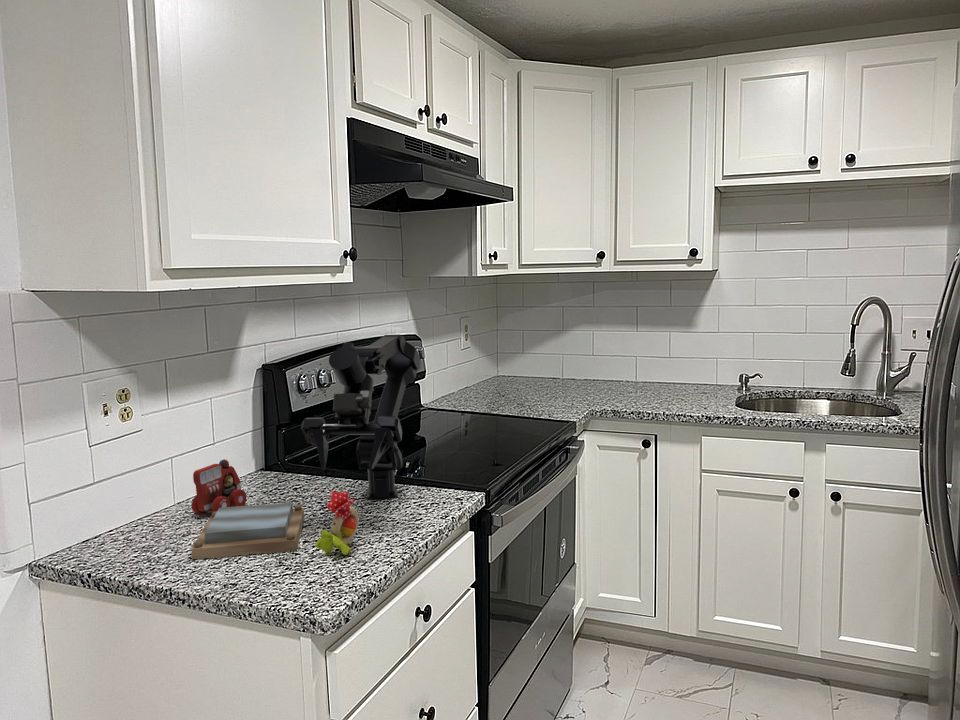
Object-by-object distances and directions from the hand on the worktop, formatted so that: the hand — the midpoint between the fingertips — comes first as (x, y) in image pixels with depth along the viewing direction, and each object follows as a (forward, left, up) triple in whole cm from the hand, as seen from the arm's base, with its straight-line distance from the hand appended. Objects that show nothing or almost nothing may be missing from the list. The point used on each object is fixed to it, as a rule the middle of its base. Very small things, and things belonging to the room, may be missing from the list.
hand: (347, 468), depth 139 cm
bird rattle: (+7, -2, -13) cm, 15 cm away
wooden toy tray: (-3, -19, -13) cm, 23 cm away
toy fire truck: (-21, -28, -13) cm, 37 cm away
